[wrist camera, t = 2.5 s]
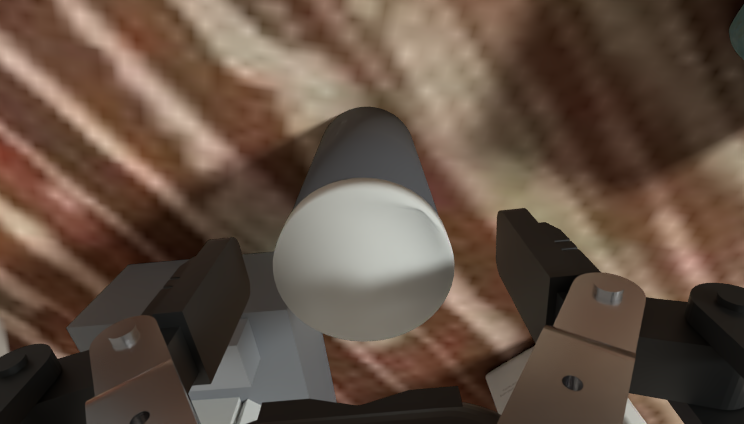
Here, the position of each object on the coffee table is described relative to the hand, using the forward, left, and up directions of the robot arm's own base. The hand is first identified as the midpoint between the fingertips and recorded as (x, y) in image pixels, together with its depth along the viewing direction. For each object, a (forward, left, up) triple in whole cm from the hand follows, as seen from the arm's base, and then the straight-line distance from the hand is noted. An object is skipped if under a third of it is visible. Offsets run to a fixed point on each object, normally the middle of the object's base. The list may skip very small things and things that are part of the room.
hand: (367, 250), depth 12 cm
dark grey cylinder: (0, 0, -8) cm, 8 cm away
